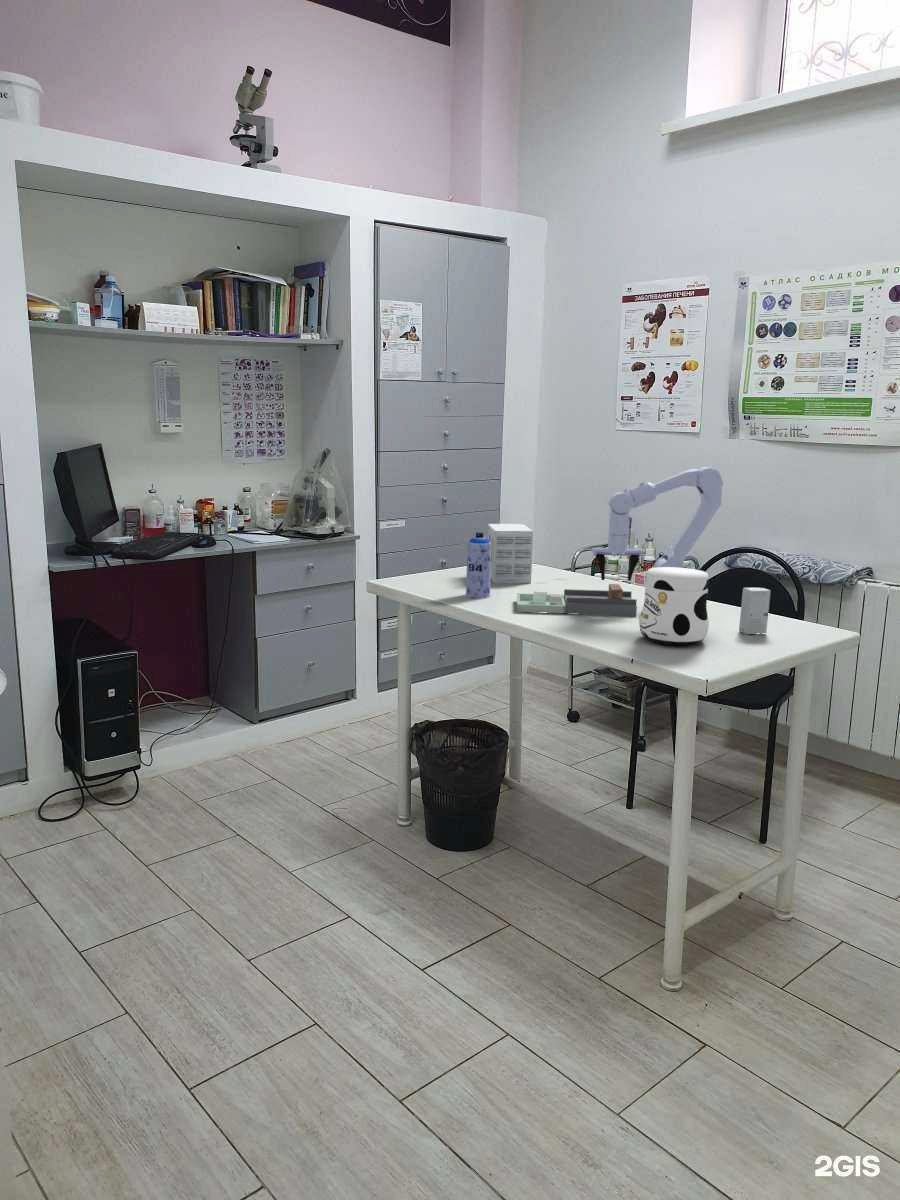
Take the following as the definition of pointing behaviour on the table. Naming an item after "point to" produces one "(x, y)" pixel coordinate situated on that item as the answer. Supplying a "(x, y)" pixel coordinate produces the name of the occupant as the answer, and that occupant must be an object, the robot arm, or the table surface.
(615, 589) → the bar
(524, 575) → the supplement box
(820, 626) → the table surface
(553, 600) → the chip near
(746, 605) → the skincare box
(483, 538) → the aerosol can
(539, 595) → the grey small block
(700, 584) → the milk container
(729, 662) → the table surface
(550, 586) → the table surface
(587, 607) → the channel board
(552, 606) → the chip tray
